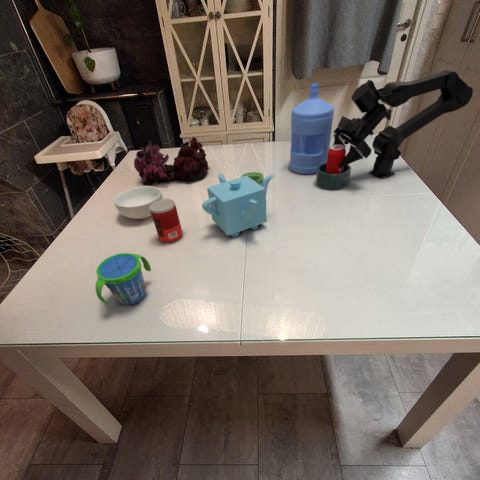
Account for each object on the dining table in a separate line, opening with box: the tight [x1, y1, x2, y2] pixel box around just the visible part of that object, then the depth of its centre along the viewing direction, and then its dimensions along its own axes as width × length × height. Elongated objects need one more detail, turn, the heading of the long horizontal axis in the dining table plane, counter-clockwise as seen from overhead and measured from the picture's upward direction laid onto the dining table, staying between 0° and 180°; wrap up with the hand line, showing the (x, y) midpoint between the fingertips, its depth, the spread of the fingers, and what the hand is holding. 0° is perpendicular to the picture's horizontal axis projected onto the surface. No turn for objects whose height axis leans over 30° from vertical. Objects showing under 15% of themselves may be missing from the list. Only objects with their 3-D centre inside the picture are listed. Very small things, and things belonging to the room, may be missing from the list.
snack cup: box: [95, 252, 152, 306], centre depth 76 cm, size 16×10×10 cm
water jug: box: [289, 82, 335, 175], centre depth 115 cm, size 16×16×28 cm
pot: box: [315, 162, 352, 191], centre depth 112 cm, size 12×12×6 cm
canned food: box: [149, 198, 183, 244], centre depth 94 cm, size 8×8×11 cm
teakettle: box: [201, 173, 275, 238], centre depth 93 cm, size 19×19×15 cm
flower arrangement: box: [133, 136, 209, 186], centre depth 125 cm, size 31×20×15 cm, turn 101°
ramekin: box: [240, 171, 265, 185], centre depth 115 cm, size 9×9×4 cm
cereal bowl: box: [113, 185, 163, 220], centre depth 108 cm, size 17×17×7 cm
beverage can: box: [325, 144, 347, 174], centre depth 109 cm, size 6×6×12 cm
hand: (333, 162), depth 108 cm, fingers open, 9 cm apart
